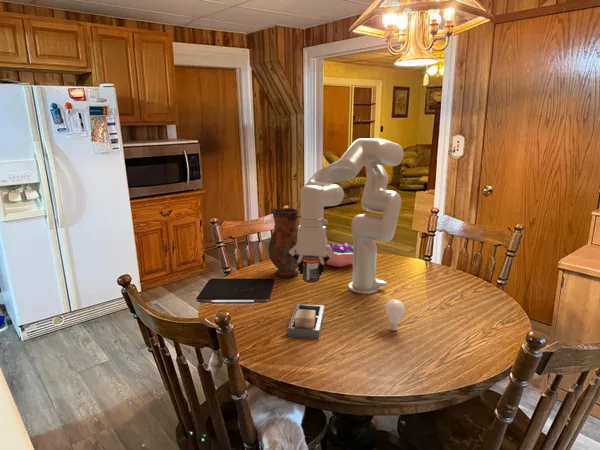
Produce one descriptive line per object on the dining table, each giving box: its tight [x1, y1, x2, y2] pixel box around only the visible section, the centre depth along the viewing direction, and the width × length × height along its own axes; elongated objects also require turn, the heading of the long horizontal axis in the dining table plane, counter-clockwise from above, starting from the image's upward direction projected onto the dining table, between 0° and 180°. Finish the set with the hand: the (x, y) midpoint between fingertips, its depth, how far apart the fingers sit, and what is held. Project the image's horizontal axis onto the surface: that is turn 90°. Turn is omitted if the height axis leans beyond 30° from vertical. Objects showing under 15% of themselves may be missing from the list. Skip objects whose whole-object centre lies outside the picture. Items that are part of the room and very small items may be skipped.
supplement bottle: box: [301, 255, 321, 284], centre depth 139 cm, size 6×6×11 cm
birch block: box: [295, 309, 316, 329], centre depth 133 cm, size 6×6×6 cm
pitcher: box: [267, 207, 303, 279], centre depth 181 cm, size 17×21×30 cm
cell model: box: [324, 242, 353, 268], centre depth 196 cm, size 17×20×11 cm
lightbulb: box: [384, 298, 406, 332], centre depth 135 cm, size 6×6×11 cm
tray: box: [287, 303, 325, 340], centre depth 138 cm, size 10×18×4 cm, turn 171°
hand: (311, 273), depth 139 cm, fingers closed on supplement bottle, 6 cm apart
